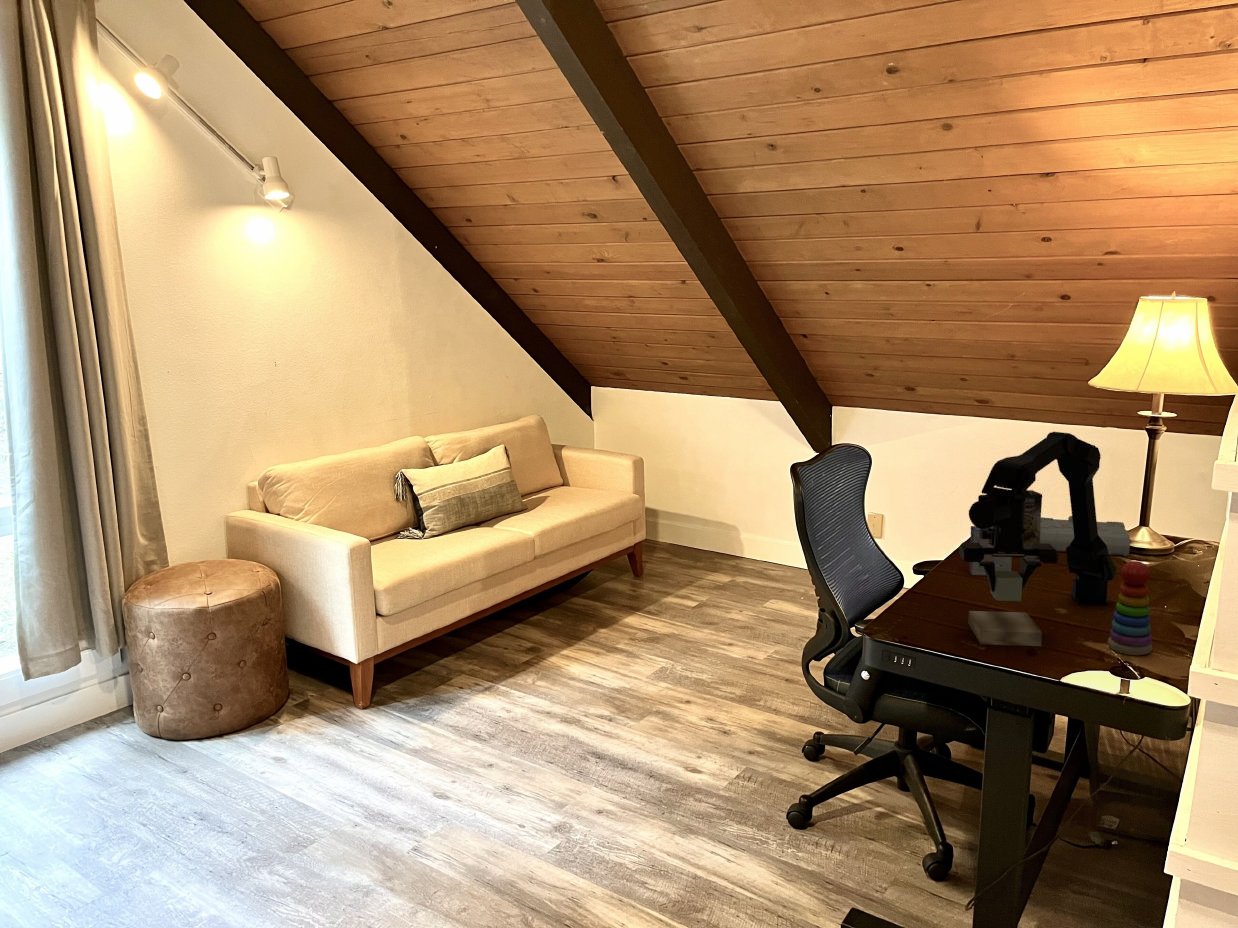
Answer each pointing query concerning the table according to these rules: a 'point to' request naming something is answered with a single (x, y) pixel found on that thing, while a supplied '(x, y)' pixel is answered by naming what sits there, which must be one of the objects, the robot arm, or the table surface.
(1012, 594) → the sage cube
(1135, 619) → the stacking toy
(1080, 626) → the table surface
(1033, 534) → the coffee box
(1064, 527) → the book
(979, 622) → the birch base block
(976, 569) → the ink cartridge box
